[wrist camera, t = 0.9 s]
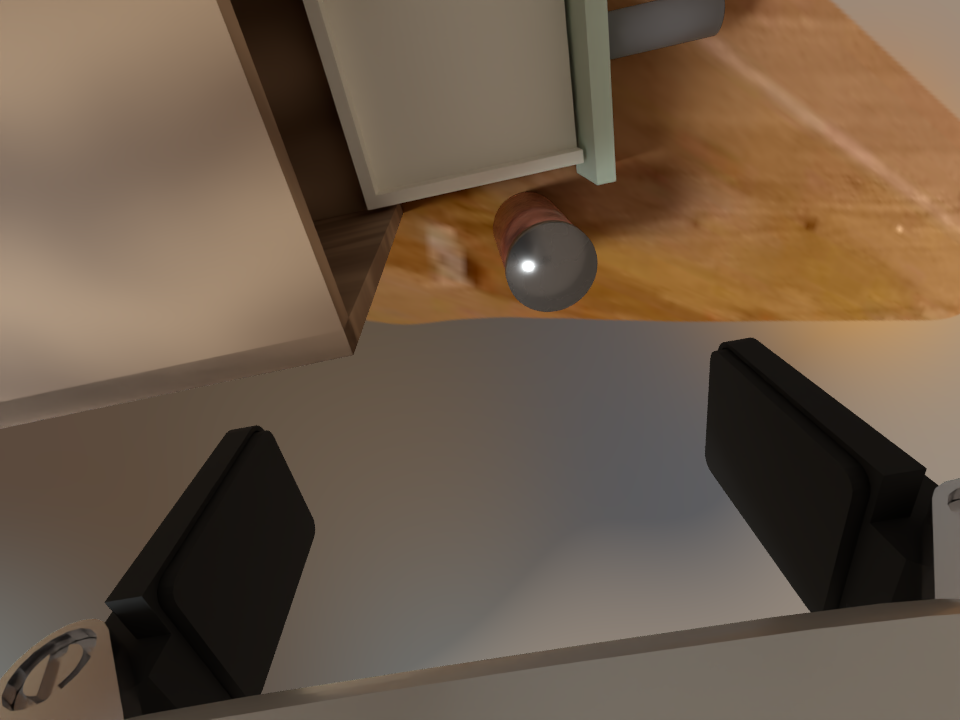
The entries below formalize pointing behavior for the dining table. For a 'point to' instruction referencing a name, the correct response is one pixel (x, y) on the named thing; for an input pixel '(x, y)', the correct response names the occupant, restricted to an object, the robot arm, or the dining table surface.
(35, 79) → the drawer cabinet
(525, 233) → the tea tin
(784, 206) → the dining table surface
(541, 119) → the green drawer
